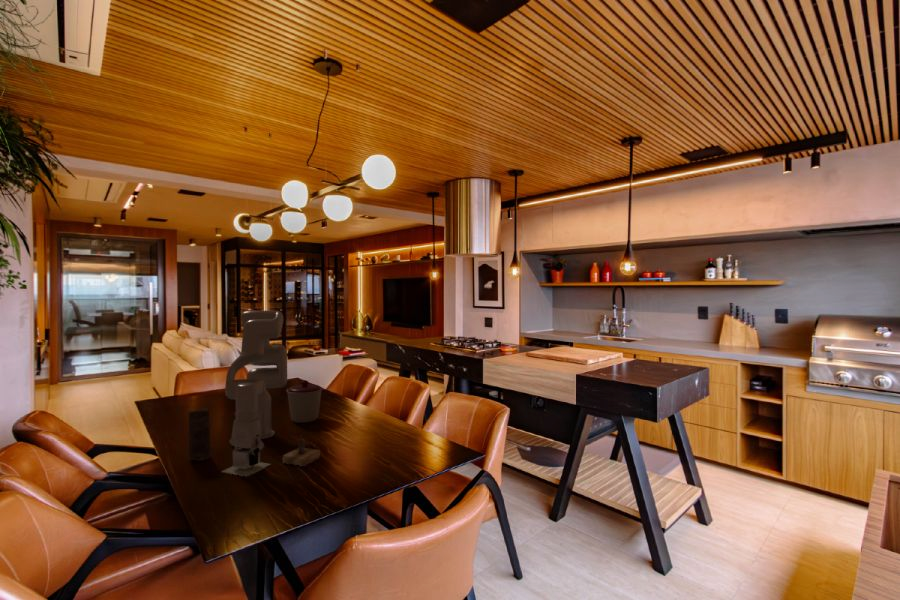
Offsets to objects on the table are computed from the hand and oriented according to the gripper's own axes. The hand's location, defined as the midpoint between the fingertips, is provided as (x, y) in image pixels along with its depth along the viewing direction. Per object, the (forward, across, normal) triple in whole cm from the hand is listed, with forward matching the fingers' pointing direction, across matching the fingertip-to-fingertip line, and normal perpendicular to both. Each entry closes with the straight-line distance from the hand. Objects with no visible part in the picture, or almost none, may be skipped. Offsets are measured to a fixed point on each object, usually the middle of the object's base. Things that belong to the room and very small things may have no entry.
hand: (246, 462), depth 163 cm
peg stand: (+2, +14, +14) cm, 20 cm away
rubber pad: (+2, 0, 0) cm, 2 cm away
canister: (+3, -21, +60) cm, 63 cm away
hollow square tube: (+1, 0, 0) cm, 1 cm away
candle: (+2, -25, +1) cm, 25 cm away
